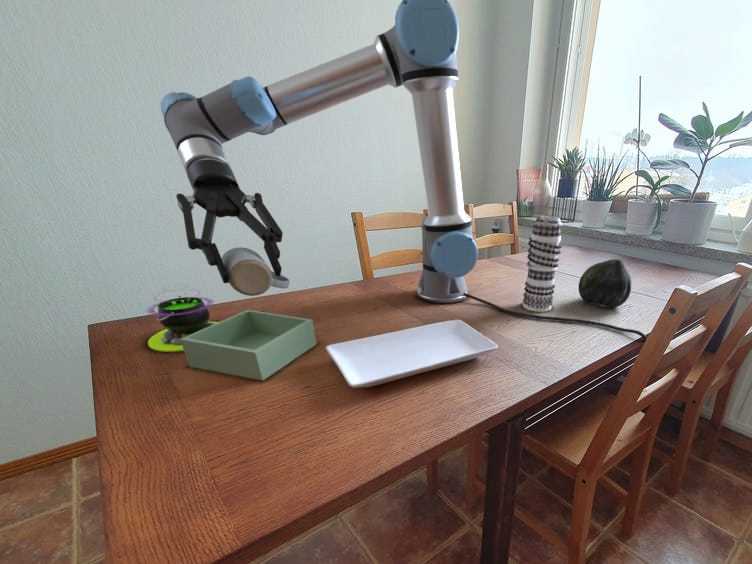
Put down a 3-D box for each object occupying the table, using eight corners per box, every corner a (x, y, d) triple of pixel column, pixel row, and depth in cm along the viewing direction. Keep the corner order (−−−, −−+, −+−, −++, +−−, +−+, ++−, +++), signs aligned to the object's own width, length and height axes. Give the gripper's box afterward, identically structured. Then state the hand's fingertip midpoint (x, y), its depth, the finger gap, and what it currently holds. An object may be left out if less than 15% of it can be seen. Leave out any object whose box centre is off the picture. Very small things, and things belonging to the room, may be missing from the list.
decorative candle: (514, 305, 110) (523, 215, 98) (535, 299, 116) (546, 213, 104) (538, 314, 104) (551, 220, 93) (558, 307, 110) (573, 218, 98)
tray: (500, 360, 80) (501, 345, 78) (352, 402, 63) (350, 385, 62) (459, 331, 92) (459, 317, 90) (326, 360, 76) (323, 345, 74)
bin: (316, 344, 82) (312, 319, 79) (262, 380, 68) (255, 352, 65) (253, 333, 85) (247, 309, 82) (189, 366, 71) (179, 339, 68)
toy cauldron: (167, 324, 86) (150, 277, 81) (240, 321, 90) (227, 276, 85) (132, 354, 74) (109, 301, 68) (218, 349, 77) (202, 298, 72)
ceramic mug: (234, 301, 67) (223, 258, 64) (225, 288, 73) (214, 248, 69) (296, 292, 74) (289, 252, 70) (283, 281, 79) (276, 244, 75)
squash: (574, 276, 121) (589, 247, 107) (619, 280, 122) (640, 252, 107) (574, 315, 117) (589, 290, 102) (621, 319, 117) (643, 296, 103)
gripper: (267, 186, 80) (308, 277, 78) (143, 186, 68) (186, 295, 65) (270, 159, 75) (314, 257, 72) (134, 154, 62) (181, 272, 59)
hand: (253, 275), depth 69 cm, fingers closed on ceramic mug, 8 cm apart
